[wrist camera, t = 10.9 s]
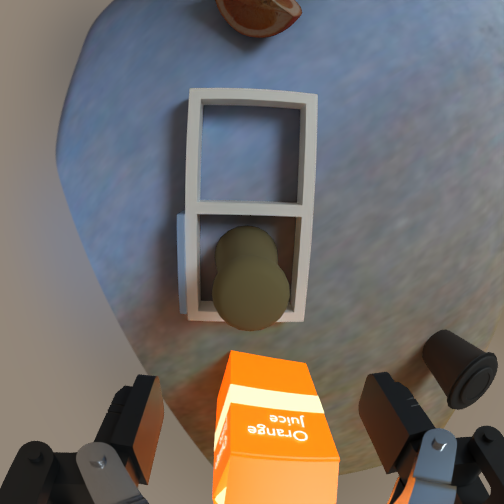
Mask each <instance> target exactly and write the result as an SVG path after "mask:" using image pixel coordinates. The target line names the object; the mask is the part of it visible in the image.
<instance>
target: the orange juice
mask: <svg viewBox="0 0 504 504" xmlns="http://www.w3.org/2000/svg"><path fill="white" fill-rule="evenodd" d="M339 461H340V458H339V456H338V453H337V450H336V447H335V444H334V441H333V438H332V436H331V433H330V430H329V427H328V424H327V421H326V419H325V416H324V411H323V408H322V405H321V403H320V400H319V397H318V396H317V393H316V390H315V388H314V385H313V382H312V379H311V376H310V374H309V371H308V368H307V365H306V363H301V362H294V361H287V360H281V359H275V358H269V357H264V356H258V355H253V354H247V353H242V352H237V351H232V350H231V353H230V356H229V360H228V363H227V367H226V370H225V374H224V377H223V381H222V384H221V388H220V391H219V395H218V398H217V414H216V432H215V442H214V474H213V502H214V504H336V496H337V483H338V467H339Z"/></svg>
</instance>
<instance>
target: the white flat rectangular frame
mask: <svg viewBox="0 0 504 504" xmlns="http://www.w3.org/2000/svg"><path fill="white" fill-rule="evenodd" d="M317 99H318V94H310V93H301V92H291V91H279V90H265V89H244V88H190V92H189V107H188V125H187V147H186V183H185V210H183V211H182V212H180V213H179V214H177V258H178V285H179V305H180V314H187V311H188V320H192V321H223V322H225V321H224V320H223V319H222V318H221V317H220V316H219V314H218V312H217V310H216V308H215V307H214V304H213V301H201V288H200V214H229V215H266V216H293V217H296V226H295V242H294V256H293V270H292V283H291V295H290V302H288V305H287V309H286V310H285V312H284V314H283V315H282V317H281V318H280V319H279V320H278V321H276V322H303V321H304V313H305V303H306V294H307V284H308V273H309V262H310V250H311V238H312V224H313V209H314V192H315V172H316V147H317ZM204 105H240V106H263V107H278V108H291V109H300V142H299V169H298V190H297V203H292V202H268V201H235V200H200V185H201V150H202V126H203V107H204Z"/></svg>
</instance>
